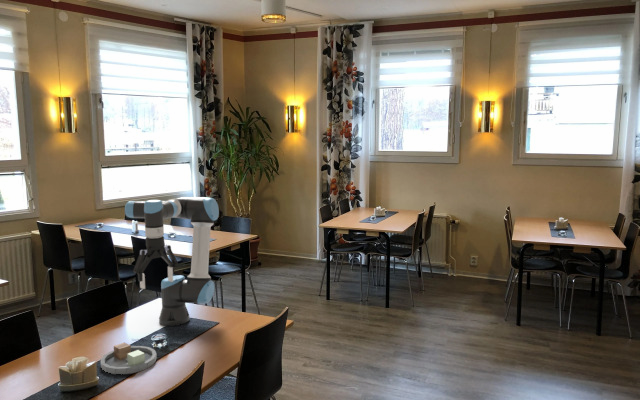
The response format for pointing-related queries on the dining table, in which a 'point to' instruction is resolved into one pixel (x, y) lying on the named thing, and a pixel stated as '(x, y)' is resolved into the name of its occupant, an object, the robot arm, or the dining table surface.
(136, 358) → the pale green cube
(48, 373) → the dining table surface
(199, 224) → the robot arm
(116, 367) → the tray
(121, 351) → the brown wooden cube
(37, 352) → the dining table surface
